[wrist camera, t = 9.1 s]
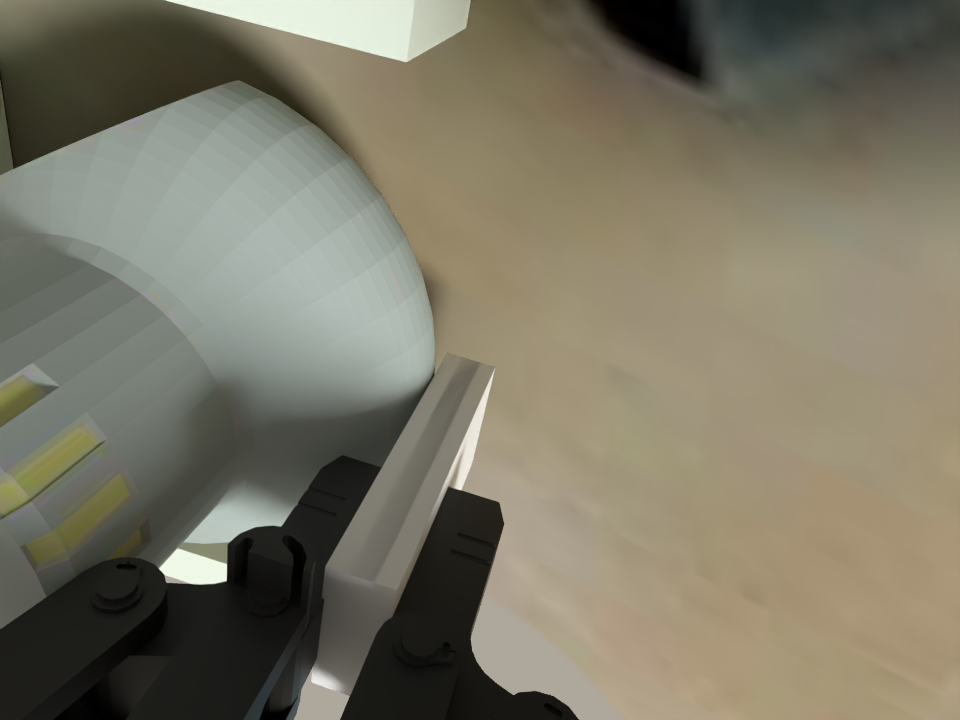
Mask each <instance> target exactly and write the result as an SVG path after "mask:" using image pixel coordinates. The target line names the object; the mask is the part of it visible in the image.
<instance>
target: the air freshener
mask: <svg viewBox="0 0 960 720" xmlns="http://www.w3.org/2000/svg"><path fill="white" fill-rule="evenodd" d="M435 361H436V350H435V339H434V327H433V315H432V311H431V307H430V303H429V299H428V295H427V291H426V287H425V283H424V279H423V275H422V272H421V269H420V267H419V265H418V262H417V260H416V258H415V255H414V253H413V251H412V248H411V246H410V244H409V241H408V239H407V237H406V234H405V232H404V230H403V229H402V227H401V225H400V224H399V222H398V220H397V219H396V217H395V215H394V214H393V212H392V211H391V209H390V207H389V206H388V204H387V202H386V201H385V199H384V197H383V196H382V194H381V193H380V192H379V191H378V189H377V188H376V187H375V186H374V184H373V183H372V182H371V181H370V179H369V178H368V177H367V176H366V175H365V173H364V172H363V171H362V170H361V168H360V167H359V166H358V165H357V164H356V162H355V161H354V160H353V159H352V158H351V157H350V156H349V155H348V154H347V153H346V152H345V151H344V150H342V149H341V148H340V147H339V146H338V145H337V144H336V143H335V142H334V141H333V140H332V139H331V138H330V137H328V136H327V135H326V134H325V133H324V132H323V131H322V130H321V129H320V128H319V127H317V126H316V125H314V124H313V123H311V122H310V121H309V120H307V119H306V118H304V117H303V116H301V115H300V114H298V113H297V112H296V111H294V110H293V109H291V108H290V107H288V106H287V105H285V104H284V103H283V102H281V101H280V100H278V99H276V98H274V97H272V96H270V95H268V94H266V93H264V92H262V91H260V90H258V89H256V88H254V87H252V86H250V85H248V84H246V83H244V82H242V81H239V80H237V81H233V82H229V83H226V84H223V85H220V86H217V87H214V88H211V89H208V90H205V91H203V92H200V93H197V94H194V95H192V96H189V97H186V98H184V99H181V100H178V101H176V102H173V103H171V104H168V105H165V106H163V107H160V108H158V109H155V110H153V111H150V112H148V113H145V114H143V115H140V116H138V117H135V118H133V119H130V120H128V121H125V122H123V123H120V124H118V125H116V126H113V127H111V128H108V129H106V130H103V131H101V132H99V133H96V134H94V135H91V136H89V137H87V138H84V139H82V140H80V141H77V142H75V143H72V144H70V145H68V146H65V147H63V148H61V149H58V150H56V151H54V152H51V153H49V154H47V155H44V156H42V157H40V158H38V159H35V160H33V161H31V162H28V163H26V164H24V165H22V166H19V167H17V168H15V169H13V170H10V171H8V172H6V173H4V174H1V175H0V629H1V628H3V627H4V626H6V625H7V624H9V623H10V622H11V621H13V620H14V619H16V618H17V617H19V616H20V615H22V614H23V613H24V612H26V611H27V610H29V609H30V608H32V607H33V606H35V605H36V604H37V603H39V602H40V601H42V600H43V599H45V598H46V597H48V596H49V595H50V594H52V593H53V592H55V591H56V590H58V589H59V588H60V587H62V586H63V585H65V584H66V583H68V582H69V581H71V580H72V579H73V578H75V577H76V576H78V575H79V574H81V573H82V572H84V571H85V570H87V569H89V568H91V567H93V566H95V565H96V564H98V563H100V562H102V561H106V560H111V559H116V558H120V557H127V558H140V559H143V560H145V561H148V562H150V563H153V564H155V565H156V566H157V567H158V568H160V567H161V566H162V565H163V564H164V563H165V561H166V560H167V559H168V558H169V557H170V556H171V555H172V554H173V553H174V552H175V551H176V550H177V549H178V547H179V546H180V545H181V544H182V543H183V542H187V543H201V544H208V543H227V542H230V541H232V540H233V539H234V538H235V537H236V536H237V535H239V534H240V533H242V532H245V531H247V530H250V529H252V528H255V527H262V526H272V525H274V526H280V527H281V526H282V525H283V523H284V522H285V520H286V519H287V517H288V516H289V515H290V513H291V512H292V510H293V509H294V507H295V506H297V505H298V501H299V500H300V498H301V497H302V496H303V494H304V493H305V491H306V490H308V487H309V485H310V484H311V482H312V481H313V479H314V478H315V477H316V475H317V474H318V472H319V471H320V469H321V468H322V467H324V466H326V465H327V464H329V463H330V462H332V461H334V460H335V459H337V458H339V457H340V456H342V455H344V456H347V457H350V458H353V459H357V460H360V461H363V462H366V463H369V464H372V465H376V466H379V467H383V465H384V463H385V461H386V460H387V458H388V456H389V454H390V453H391V451H392V449H393V447H394V446H395V444H396V442H397V440H398V439H399V437H400V435H401V433H402V432H403V430H404V428H405V426H406V425H407V423H408V421H409V419H410V418H411V416H412V414H413V412H414V411H415V409H416V407H417V405H418V404H419V402H420V400H421V398H422V397H423V395H424V393H425V391H426V390H427V388H428V386H429V384H430V383H431V381H432V379H433V377H434V371H435Z"/></svg>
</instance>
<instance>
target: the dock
mask: <svg viewBox="0 0 960 720" xmlns="http://www.w3.org/2000/svg"><path fill="white" fill-rule="evenodd" d="M166 1H170V2H173V3H177V4H181V5H185V6H189V7H193V8H197V9H201V10H205V11H208V12H212V13H216V14H220V15H224V16H228V17H232V18H236V19H240V20H244V21H247V22H251V23H255V24H259V25H263V26H267V27H271V28H275V29H279V30H283V31H286V32H290V33H294V34H298V35H302V36H306V37H310V38H314V39H318V40H322V41H325V42H329V43H333V44H337V45H341V46H345V47H349V48H353V49H357V50H361V51H364V52H368V53H372V54H376V55H380V56H384V57H388V58H392V59H396V60H400V61H403V62H408V61H410V60H412V59H413V58H415V57H417V56H418V55H420V54H422V53H424V52H425V51H427V50H429V49H431V48H432V47H434V46H436V45H438V44H439V43H441V42H443V41H445V40H446V39H448V38H450V37H452V36H453V35H455V34H457V33H458V32H460V31H462V30H464V29H465V28H466V26H467V20H468V14H469V8H470V2H471V0H166ZM13 169H14V168H13V161H12V155H11V148H10V141H9V135H8V128H7V122H6V115H5V108H4V102H3V95H2V88H1V82H0V175H1V174H4V173H6V172H8V171H10V170H13ZM228 543H229V542H227V543H208V544H201V543H187V542H183V543H182V544H181V545H180V546H179V547H178V549H177V550H176V551H175V552H174V553H173V554H172V555H171V556H170V557H169V558H168V559H167V560H166V561H165V563H164V564H163V565H162V566H161V567H160V568H159V569H160V570H161V571H162V573H163V574H164V575H166V576H170V577H172V578H176V579H179V580H182V581H185V582H188V583H191V584H216V583H220V582H224V581H227V545H228Z"/></svg>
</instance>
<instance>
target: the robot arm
mask: <svg viewBox="0 0 960 720" xmlns="http://www.w3.org/2000/svg"><path fill="white" fill-rule="evenodd" d="M494 371H495V367H493V366H490V365H487V364H483V363H480V362H476V361H473V360H470V359H466V358H463V357H459V356H456V355H452V354H449V353H447V355H446V356H445V358H444V360H443V362H442V363H441V365H440V367H439V369H438V370H437V372H436V374H435V376H434V377H433V379H432V381H431V383H430V384H429V386H428V388H427V390H426V391H425V393H424V395H423V397H422V398H421V400H420V402H419V404H418V405H417V407H416V409H415V411H414V412H413V414H412V416H411V418H410V419H409V421H408V423H407V425H406V426H405V428H404V430H403V432H402V433H401V435H400V437H399V439H398V440H397V442H396V444H395V446H394V447H393V449H392V451H391V453H390V454H389V456H388V458H387V460H386V461H385V463H384V465H383V467H379V466H376V465H372V464H369V463H366V462H363V461H360V460H357V459H353V458H350V457H347V456H344V455H342V456H340V457H339V458H337V459H335V460H334V461H332V462H330V463H329V464H327V465H326V466H324V467H322V468H321V469H320V471H319V472H318V474H317V475H316V477H315V478H314V479H313V481H312V482H311V484H310V485H309V487H308V490H306V491H305V493H304V494H303V496H302V497H301V498H300V500H299V501H298V505H297V506H295V507H294V509H293V510H292V512H291V513H290V515H289V516H288V517H287V519H286V520H285V522H284V523H283V525H282V526H281V527H280V526H274V525H272V526H262V527H255V528H252V529H250V530H247V531H245V532H242V533H240V534H239V535H237V536H236V537H235V538H234V539H233V540H232V541H230V542H229V543H228V545H227V581H224V582H220V583H216V584H177V583H166V581H165V576H164V574H163V573H162V571H161V570H160V569H159V568H158V567H157V566H156V565H155V564H153V563H150V562H148V561H145V560H143V559H140V558H127V557H120V558H116V559H111V560H106V561H102V562H100V563H98V564H96V565H95V566H93V567H91V568H89V569H87V570H85V571H84V572H82V573H81V574H79V575H78V576H76V577H75V578H73V579H72V580H71V581H69V582H68V583H66V584H65V585H63V586H62V587H60V588H59V589H58V590H56V591H55V592H53V593H52V594H50V595H49V596H48V597H46V598H45V599H43V600H42V601H40V602H39V603H37V604H36V605H35V606H33V607H32V608H30V609H29V610H27V611H26V612H24V613H23V614H22V615H20V616H19V617H17V618H16V619H14V620H13V621H11V622H10V623H9V624H7V625H6V626H4V627H3V628H1V629H0V720H294V718H295V716H296V713H297V709H298V706H299V702H300V694H301V689H302V687H303V685H304V683H305V681H306V679H307V677H308V675H309V673H310V671H311V669H312V667H313V673H312V681H311V682H312V683H315V684H317V685H320V686H323V687H326V688H329V689H332V690H335V691H337V692H340V693H344V694H346V695H349V696H350V697H349V700H348V702H347V705H346V707H345V710H344V712H343V714H342V717H341V719H340V720H579V719H578V718H577V717H576V715H575V714H574V713H573V712H572V710H571V709H570V708H569V707H568V706H567V705H565V704H564V703H562V702H561V701H560V700H558V699H557V698H555V697H554V696H551V695H548V694H544V693H541V692H537V691H532V692H520V693H517V694H515V695H512V694H511V693H509V692H508V691H506V690H505V689H503V688H502V687H501V686H499V685H498V684H497V683H495V682H494V681H493V680H492V679H491V678H490V677H489V676H487V675H486V674H485V673H484V671H483V670H482V669H481V667H480V666H479V665H478V663H477V662H476V659H475V657H474V654H473V652H472V646H471V634H472V631H473V628H474V625H475V621H476V618H477V615H478V612H479V608H480V605H481V602H482V599H483V595H484V592H485V589H486V586H487V582H488V579H489V575H490V572H491V568H492V565H493V562H494V558H495V555H496V551H497V548H498V544H499V541H500V537H501V534H502V530H503V527H504V521H503V517H502V513H501V508H500V504H499V502H496V501H493V500H490V499H487V498H483V497H480V496H477V495H474V494H471V493H467V492H464V491H461V489H462V487H463V484H464V482H465V479H466V477H467V474H468V472H469V470H470V467H471V465H472V461H473V457H474V453H475V449H476V445H477V441H478V437H479V432H480V428H481V424H482V420H483V416H484V412H485V408H486V404H487V399H488V395H489V391H490V387H491V383H492V379H493V375H494Z"/></svg>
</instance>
